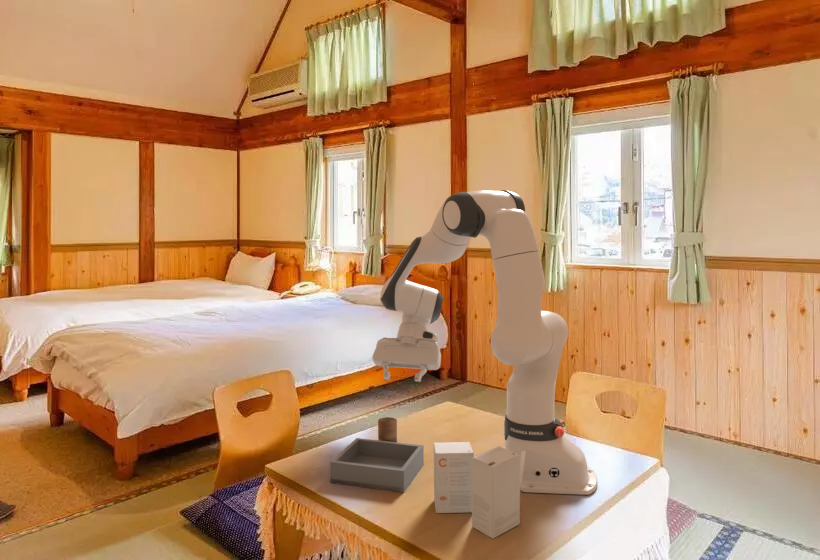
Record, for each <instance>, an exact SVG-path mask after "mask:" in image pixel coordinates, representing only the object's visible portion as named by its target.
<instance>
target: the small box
mask: <svg viewBox="0 0 820 560" xmlns="http://www.w3.org/2000/svg"><path fill="white" fill-rule="evenodd" d="M474 454H475V453H474V450H473V448H472V445H471V441H460V442H459V441H455V442H454V441H453V442H452V441H451V442H450V441H448V442H446V441H445V442H433V500H434V509H435V514H453V513H454V514H458V513H462V514H463V513H466V514H467V513H472V457H474V456H475V455H474Z"/></svg>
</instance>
